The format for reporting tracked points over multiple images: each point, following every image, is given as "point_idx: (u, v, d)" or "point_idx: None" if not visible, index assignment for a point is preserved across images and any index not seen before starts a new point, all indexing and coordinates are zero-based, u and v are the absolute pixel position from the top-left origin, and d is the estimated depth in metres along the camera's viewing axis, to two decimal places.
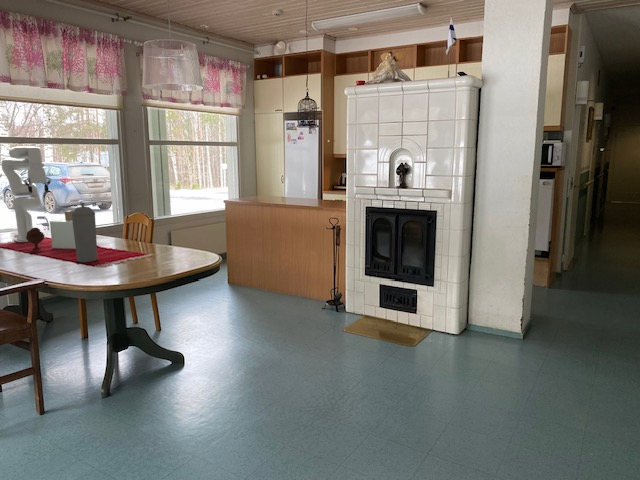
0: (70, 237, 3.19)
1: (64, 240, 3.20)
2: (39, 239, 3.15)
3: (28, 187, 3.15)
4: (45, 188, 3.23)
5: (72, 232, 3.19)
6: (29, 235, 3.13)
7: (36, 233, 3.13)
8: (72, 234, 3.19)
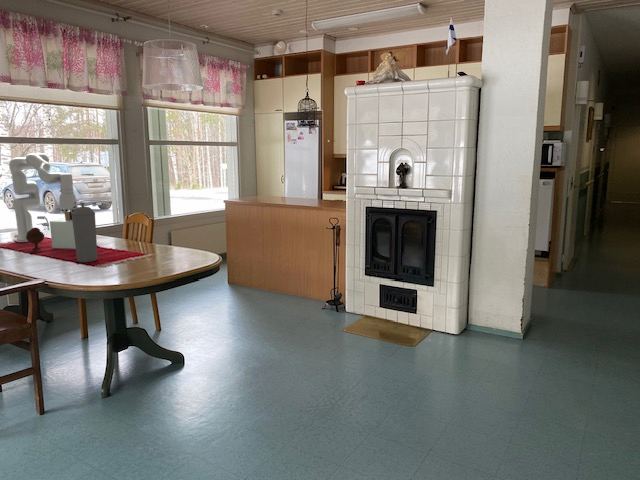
0: (70, 237, 3.19)
1: (64, 240, 3.20)
2: (39, 239, 3.15)
3: None
4: None
5: (72, 232, 3.19)
6: (29, 235, 3.13)
7: (36, 233, 3.13)
8: (72, 234, 3.19)
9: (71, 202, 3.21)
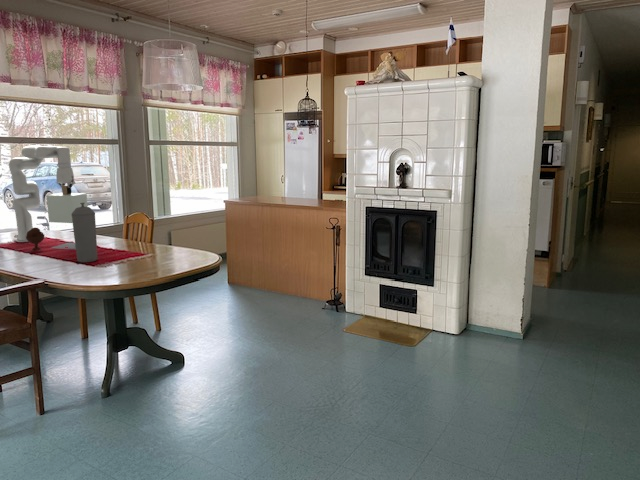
0: (67, 211, 3.16)
1: (61, 214, 3.17)
2: (39, 239, 3.15)
3: (70, 188, 3.22)
4: None
5: (69, 206, 3.15)
6: (29, 235, 3.13)
7: (36, 233, 3.13)
8: (69, 208, 3.16)
9: (68, 176, 3.18)
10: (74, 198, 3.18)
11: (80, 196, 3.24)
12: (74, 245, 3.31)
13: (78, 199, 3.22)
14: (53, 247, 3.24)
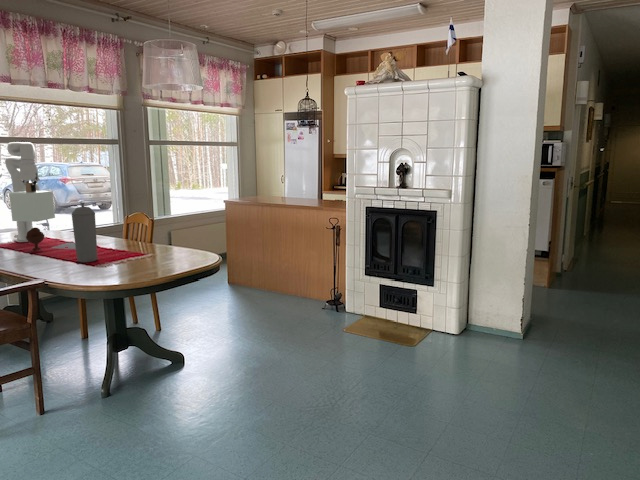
0: (31, 209, 3.04)
1: (24, 213, 3.05)
2: (39, 239, 3.15)
3: (34, 185, 3.10)
4: None
5: (33, 204, 3.04)
6: (29, 235, 3.13)
7: (36, 233, 3.13)
8: (33, 206, 3.04)
9: (32, 173, 3.06)
10: (38, 196, 3.06)
11: (45, 194, 3.12)
12: (74, 245, 3.31)
13: (43, 197, 3.11)
14: (53, 247, 3.24)
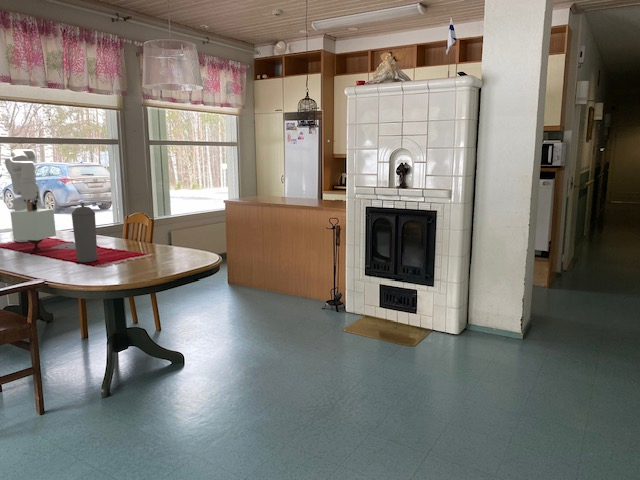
0: (32, 228, 3.06)
1: (25, 231, 3.07)
2: None
3: (35, 204, 3.12)
4: None
5: (34, 223, 3.05)
6: None
7: None
8: (34, 225, 3.06)
9: (33, 192, 3.08)
10: (39, 214, 3.08)
11: (46, 212, 3.14)
12: (74, 245, 3.31)
13: (44, 215, 3.12)
14: (53, 247, 3.24)
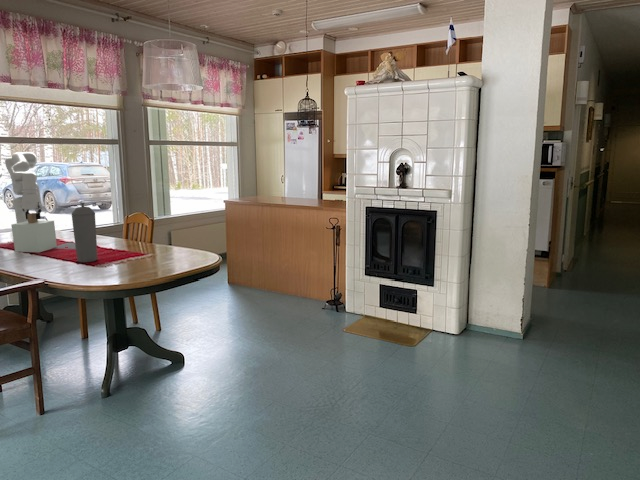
0: (33, 240, 3.08)
1: (27, 244, 3.09)
2: None
3: (39, 214, 3.13)
4: None
5: (35, 235, 3.07)
6: None
7: None
8: (35, 237, 3.07)
9: (34, 202, 3.09)
10: (40, 227, 3.10)
11: (47, 224, 3.16)
12: (74, 245, 3.31)
13: (45, 227, 3.14)
14: None
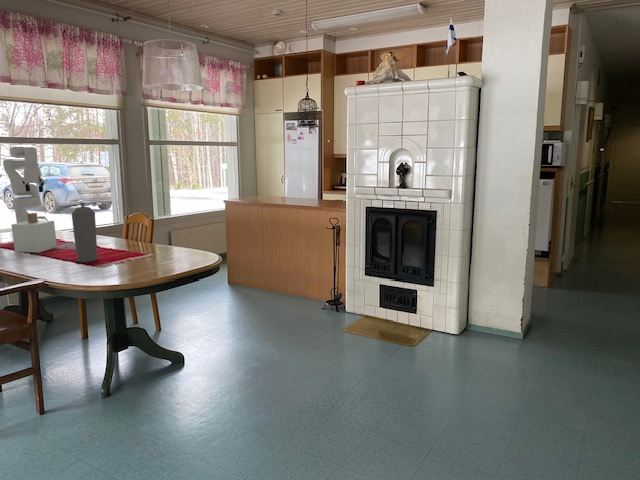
0: (33, 240, 3.08)
1: (27, 244, 3.09)
2: None
3: (41, 187, 3.16)
4: (28, 188, 3.18)
5: (35, 235, 3.07)
6: None
7: None
8: (35, 237, 3.07)
9: (35, 176, 3.12)
10: (40, 227, 3.10)
11: (47, 224, 3.16)
12: (74, 245, 3.31)
13: (45, 227, 3.14)
14: None
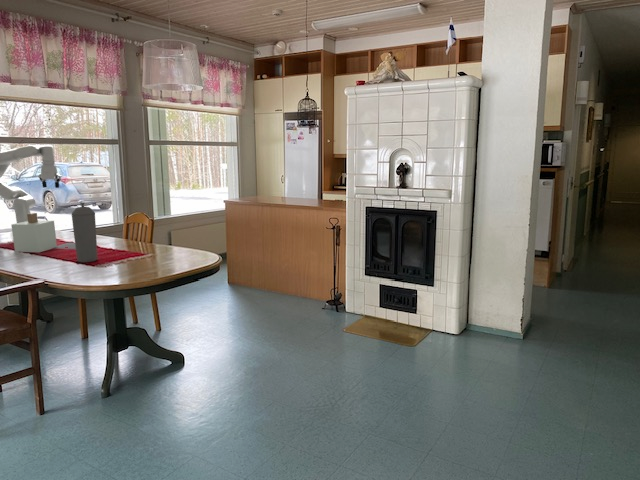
0: (33, 240, 3.08)
1: (27, 244, 3.09)
2: None
3: (57, 183, 3.42)
4: (45, 184, 3.44)
5: (35, 235, 3.07)
6: None
7: None
8: (35, 237, 3.07)
9: (52, 173, 3.38)
10: (40, 227, 3.10)
11: (47, 224, 3.16)
12: (74, 245, 3.31)
13: (45, 227, 3.14)
14: None
